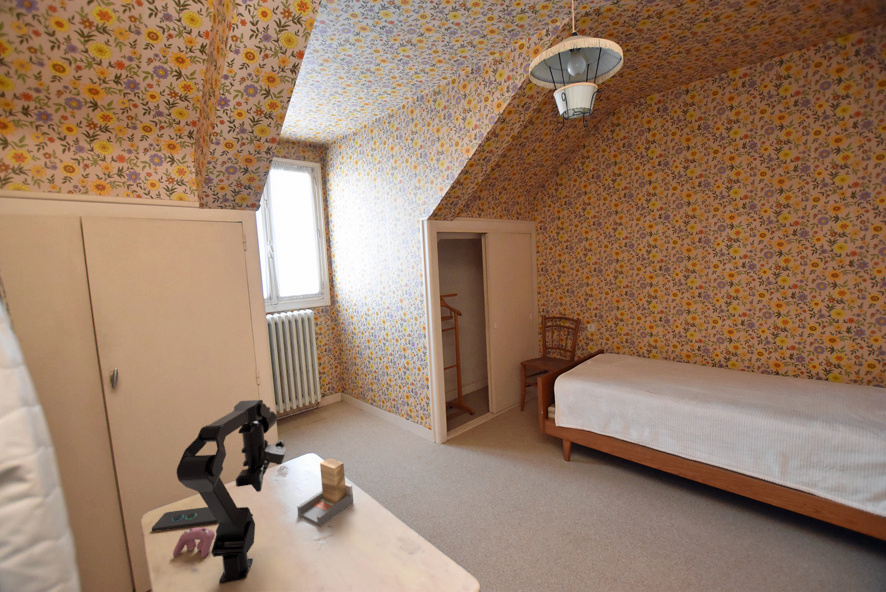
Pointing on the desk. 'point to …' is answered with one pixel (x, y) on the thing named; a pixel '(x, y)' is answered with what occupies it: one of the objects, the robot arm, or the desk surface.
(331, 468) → the oak slider
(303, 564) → the desk surface
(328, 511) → the rail box
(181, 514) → the smart home device
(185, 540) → the video game controller
